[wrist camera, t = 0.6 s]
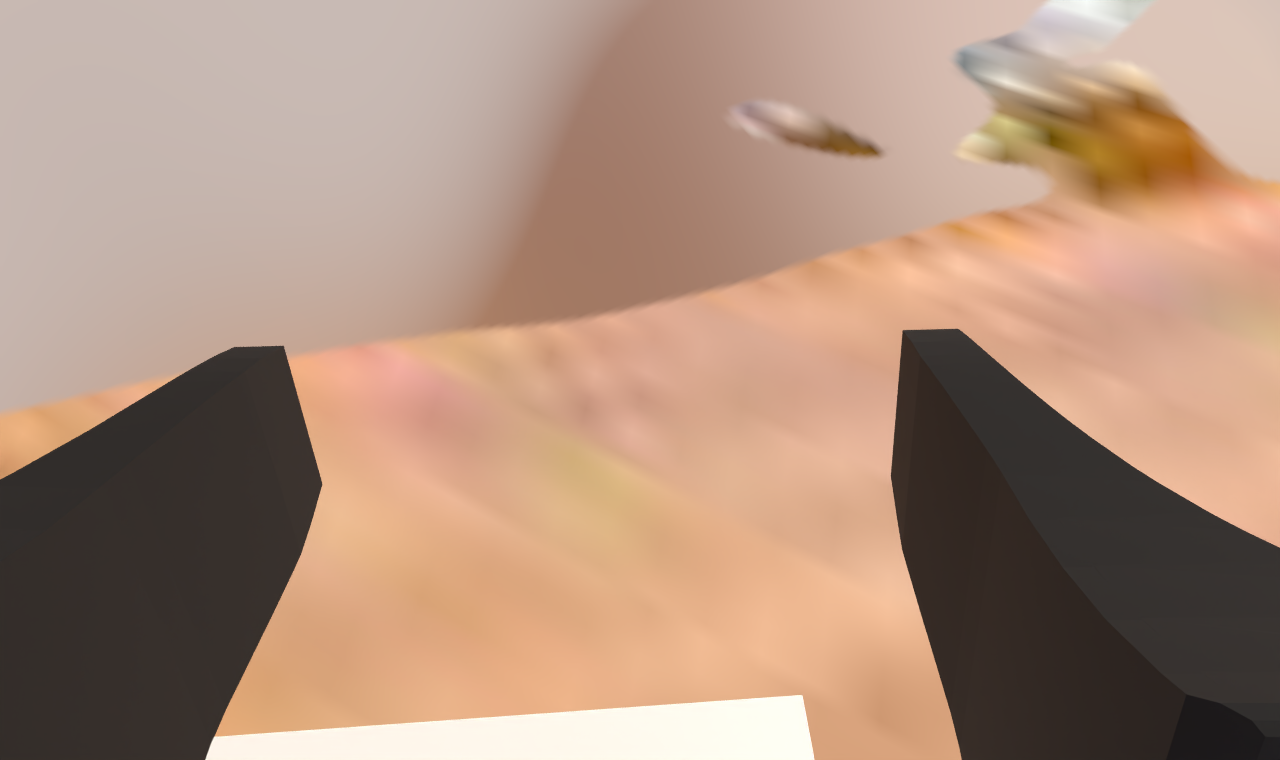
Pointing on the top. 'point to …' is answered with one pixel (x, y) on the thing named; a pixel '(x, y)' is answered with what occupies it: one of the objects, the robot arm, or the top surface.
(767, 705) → the board
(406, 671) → the top surface
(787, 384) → the top surface
